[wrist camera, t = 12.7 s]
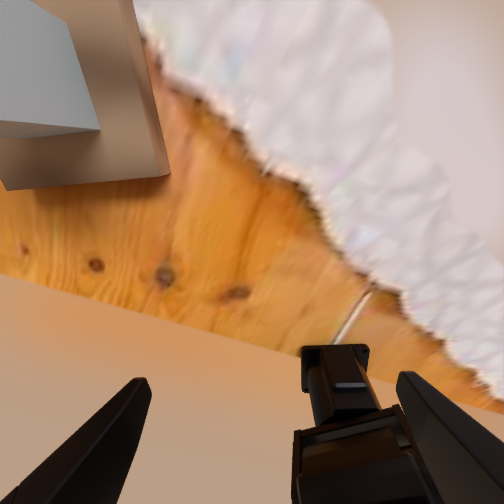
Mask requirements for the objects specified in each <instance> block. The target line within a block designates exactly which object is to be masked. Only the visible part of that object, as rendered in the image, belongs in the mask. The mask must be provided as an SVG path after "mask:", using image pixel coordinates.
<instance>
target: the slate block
mask: <svg viewBox="0 0 504 504" xmlns="http://www.w3.org/2000/svg"><path fill="white" fill-rule="evenodd" d="M94 130H101V129H100V125H99V122H98V119H97V116H96V113H95V110H94V107H93V104H92V101H91V98H90V94H89V91H88V88H87V85H86V82H85V79H84V76H83V73H82V70H81V67H80V64H79V60H78V57H77V54H76V51H75V48H74V45H73V42H72V39H71V36H70V33H69V30H68V26H67V23H66V22H64V21H62V20H61V19H59V18H58V17H56V16H54V15H53V14H51V13H50V12H48V11H46V10H45V9H43V8H42V7H40V6H38V5H37V4H35V3H33V2H32V1H30V0H0V138H18V139H28V138H36V137H45V136H53V135H61V134H69V133H78V132H86V131H94Z"/></svg>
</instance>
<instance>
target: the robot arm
mask: <svg viewBox="0 0 504 504" xmlns="http://www.w3.org/2000/svg"><path fill="white" fill-rule="evenodd" d="M363 349H364V350H363ZM369 353H370V349H369V347H368V346H367V345H366V344H348V345H318V346H304V347H302V348H301V387H302V391H303V392H304V393H309V394H310V399H311V404H312V410H313V416H314V421H315V426H316V427H313V428H309V429H305V430H296V431H294V442H293V456H292V481H291V499H292V504H504V442H502V441H501V440H500V439H499V438H497V437H496V436H495V435H494V434H492V433H491V432H490V431H489V430H487V429H486V428H485V427H483V426H482V425H481V424H480V423H478V422H477V421H476V420H475V419H473V418H472V417H471V416H470V415H468V414H467V413H466V412H465V411H463V410H462V409H461V408H460V407H458V406H457V405H456V404H455V403H453V402H452V401H451V400H450V399H448V398H447V397H446V396H445V395H443V394H442V393H441V392H439V391H438V390H437V389H436V388H434V387H433V386H432V385H431V384H429V383H428V382H427V381H426V380H424V379H423V378H422V377H421V376H419V375H418V374H417V373H415V372H414V371H401V372H400V373H399V376H398V380H397V384H396V392H397V395H398V398H399V401H400V403H401V406H402V409H403V411H404V413H403V411H402V409H401V407H400V405H399V404H395V405H392V407H390V408H386V409H382V408H381V406H380V403H379V401H378V399H377V397H376V395H375V392H374V390H373V388H372V386H371V383H370V381H369V379H368V377H367V374H366V372H367V366H368V359H369ZM151 397H152V392H151V389H150V387H149V384H148V382H147V379H146V378H144V377H136V378H133V379H132V380H131V381H130V382H129V383H128V384H126V386H124V387H123V388H122V389H121V390H120V391H119V392H118V393H117V394H116V395H115V396H113V398H111V399H110V400H109V401H108V402H107V403H106V404H105V405H104V406H103V407H102V408H101V409H99V410H98V411H97V412H96V413H95V414H94V415H93V416H92V417H91V418H90V419H89V420H88V421H87V422H86V423H84V424H83V425H82V426H81V427H80V428H79V429H78V430H77V431H76V432H75V433H74V434H73V435H71V436H70V437H69V438H68V439H67V440H66V441H65V442H64V443H63V444H62V445H61V446H60V447H59V448H57V449H56V450H55V451H54V452H53V453H52V454H51V455H50V456H49V457H48V458H47V459H46V460H45V461H44V462H42V463H41V464H40V465H39V466H38V467H37V468H36V469H35V470H34V471H33V472H32V473H31V474H30V475H28V476H27V477H26V478H25V479H24V480H23V481H22V482H21V483H20V485H19V486H17V487H16V488H14V489H13V490H12V491H11V492H10V493H9V494H8V495H7V496H6V497H5V498H4V499H2V500H1V501H0V504H117V501H118V499H119V496H120V493H121V490H122V488H123V485H124V482H125V479H126V477H127V474H128V472H129V469H130V466H131V464H132V461H133V458H134V456H135V453H136V450H137V447H138V444H139V440H140V437H141V434H142V430H143V426H144V423H145V419H146V415H147V412H148V408H149V405H150V401H151ZM404 414H405V415H404Z"/></svg>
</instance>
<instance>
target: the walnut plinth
mask: <svg viewBox="0 0 504 504" xmlns="http://www.w3.org/2000/svg"><path fill="white" fill-rule="evenodd" d="M30 1H32V2H33V3H35V4H37V5H38V6H40V7H42V8H43V9H45V10H46V11H48V12H50V13H51V14H53V15H54V16H56V17H58V18H59V19H61V20H62V21H64V22H66V23H67V26H68V30H69V33H70V36H71V39H72V42H73V45H74V48H75V51H76V54H77V57H78V60H79V64H80V67H81V70H82V73H83V76H84V79H85V82H86V85H87V88H88V91H89V94H90V98H91V101H92V104H93V107H94V110H95V113H96V116H97V119H98V122H99V125H100V129H101V130H94V131H86V132H78V133H69V134H61V135H53V136H45V137H36V138H28V139H18V138H0V179H1V180H2V182H3V184H4V186H5V188H6V190H7V191H11V190H22V189H32V188H43V187H53V186H64V185H74V184H84V183H95V182H105V181H116V180H126V179H137V178H147V177H158V176H163V175H166V174H169V173H171V171H170V167H169V162H168V158H167V153H166V149H165V144H164V140H163V135H162V131H161V126H160V122H159V118H158V113H157V109H156V104H155V100H154V95H153V91H152V86H151V82H150V77H149V73H148V69H147V64H146V60H145V55H144V51H143V46H142V42H141V37H140V33H139V28H138V24H137V20H136V15H135V11H134V6H133V2H132V0H30Z"/></svg>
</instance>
